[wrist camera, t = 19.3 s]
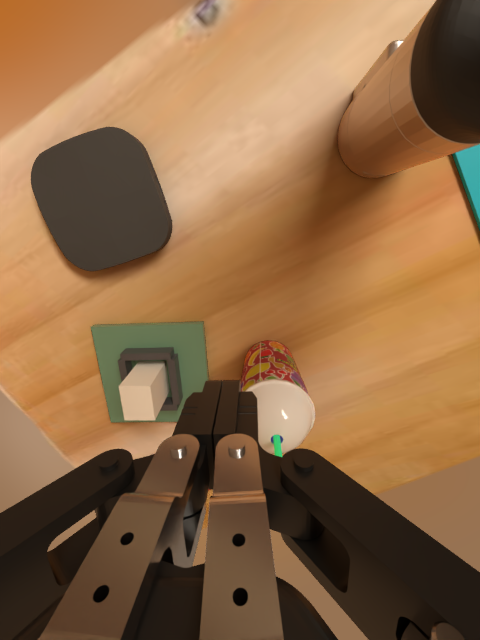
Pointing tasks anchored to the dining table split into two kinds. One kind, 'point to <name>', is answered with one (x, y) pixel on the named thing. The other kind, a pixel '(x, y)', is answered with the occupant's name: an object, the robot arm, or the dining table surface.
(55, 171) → the media streaming box
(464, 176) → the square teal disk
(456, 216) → the dining table surface
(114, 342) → the green insertion board
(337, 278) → the dining table surface
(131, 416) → the plug
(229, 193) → the dining table surface
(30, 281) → the dining table surface
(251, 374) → the smoothie
